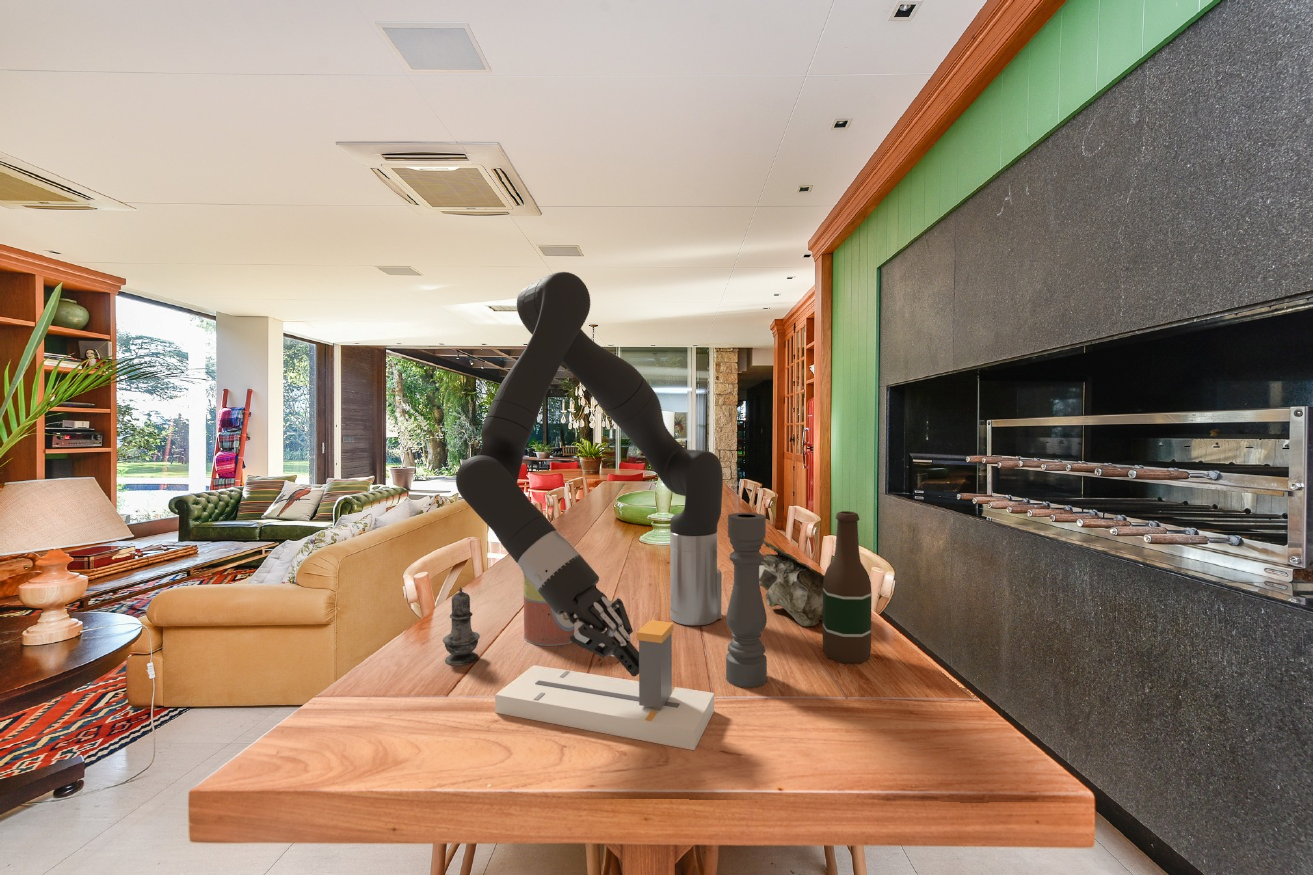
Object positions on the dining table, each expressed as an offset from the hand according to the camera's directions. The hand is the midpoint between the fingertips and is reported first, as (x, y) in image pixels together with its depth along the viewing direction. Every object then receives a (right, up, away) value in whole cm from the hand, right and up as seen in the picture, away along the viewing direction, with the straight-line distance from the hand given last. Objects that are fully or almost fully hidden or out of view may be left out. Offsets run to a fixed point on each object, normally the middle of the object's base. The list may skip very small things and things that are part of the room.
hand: (641, 670), depth 79 cm
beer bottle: (+34, -6, +21) cm, 40 cm away
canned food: (-17, -5, +31) cm, 35 cm away
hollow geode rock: (+31, -5, +46) cm, 56 cm away
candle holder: (+16, -6, +12) cm, 21 cm away
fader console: (-5, -6, +2) cm, 8 cm away
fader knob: (+2, -4, -1) cm, 4 cm away
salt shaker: (-30, -6, +20) cm, 37 cm away
